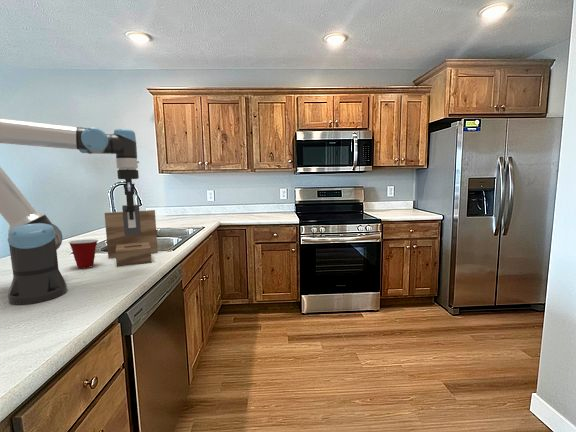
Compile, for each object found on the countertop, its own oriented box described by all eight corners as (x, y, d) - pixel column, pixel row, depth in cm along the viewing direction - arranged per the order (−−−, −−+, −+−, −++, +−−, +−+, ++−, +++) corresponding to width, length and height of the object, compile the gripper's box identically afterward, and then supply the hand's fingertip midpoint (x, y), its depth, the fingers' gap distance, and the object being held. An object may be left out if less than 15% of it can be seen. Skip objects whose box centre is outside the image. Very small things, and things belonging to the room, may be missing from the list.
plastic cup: (106, 263, 140) (103, 237, 138) (88, 270, 129) (85, 242, 128) (84, 262, 141) (81, 237, 140) (64, 270, 130) (61, 242, 129)
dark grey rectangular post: (141, 234, 127) (138, 205, 125) (124, 235, 124) (122, 206, 123) (140, 232, 130) (138, 204, 128) (124, 234, 127) (122, 205, 125)
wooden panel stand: (161, 261, 143) (158, 214, 140) (106, 268, 133) (101, 217, 130) (157, 251, 161) (154, 210, 158) (108, 257, 151) (104, 212, 148)
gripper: (138, 168, 118) (142, 229, 121) (137, 169, 132) (141, 223, 135) (116, 168, 115) (121, 230, 118) (117, 169, 129) (122, 225, 132)
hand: (132, 226), depth 126 cm, fingers closed on dark grey rectangular post, 3 cm apart
